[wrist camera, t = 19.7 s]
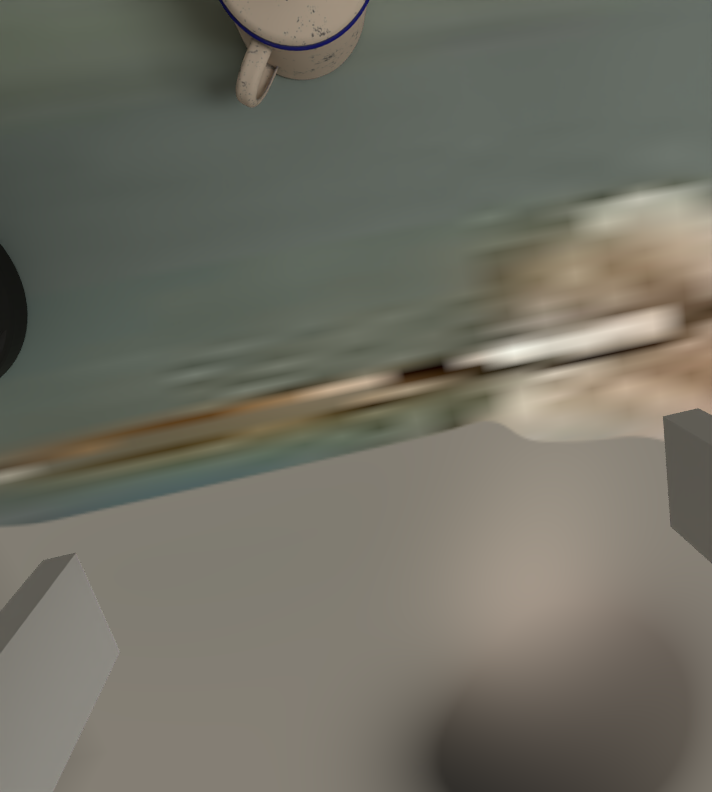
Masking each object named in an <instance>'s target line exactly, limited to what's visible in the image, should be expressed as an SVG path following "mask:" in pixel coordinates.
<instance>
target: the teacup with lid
mask: <svg viewBox="0 0 712 792" xmlns="http://www.w3.org/2000/svg"><path fill="white" fill-rule="evenodd" d="M219 1H220V3H221V4H222V6H223V8H224V9H225V11H226V12H227V13H228V15H229V16H230V17H231V18H232V19H233V21H234V22H235V25H236V27H237V29H238V31H239V33H240V35H241V37H242V39H243V41H244V43H245V45H246V46H247V48H248V49H247V51H246V54H245V56H244V59H243V62H242V64H241V67H240V71H239V74H238V78H237V83H236V97H237V99H238V100H239V101H240V102H241V103H242V104H244V105H246V106H248V107H255V106H257V105H258V104H259V103H260V102H261V101H262V100H263V98H264V97H265V95H266V94H267V92H268V90H269V88H270V86H271V84H272V82H273V79H274V77H275V75H276V74H278V75H280V76H283V77H286V78H290V79H296V80H308V79H314V78H318V77H321V76H324V75H326V74H328V73H330V72H332V71H333V70H335V69H336V68H338V67H339V66H340V65H341V64H342V63H343V62H344V61H345V60H346V59H347V58H348V57H349V55H350V54H351V53H352V51H353V50H354V48H355V46H356V44H357V42H358V40H359V38H360V35H361V32H362V29H363V24H364V19H365V14H366V8H367V4H368V2H369V0H219Z"/></svg>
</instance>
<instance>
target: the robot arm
mask: <svg viewBox="0 0 712 792" xmlns="http://www.w3.org/2000/svg"><path fill="white" fill-rule="evenodd" d="M26 328H27V304H26V298H25V293H24V289H23V286H22V282H21V280H20V277H19V275H18V272H17V270H16V268H15V266H14V264H13V262H12V261H11V259H10V257H9V256H8V254H7V253H6V251H5V250H4V248H3V247H2V246H1V244H0V377H1V376H2V375H3V374H4V373H5V372H6V371H7V370H8V369H9V368H10V367H11V365H12V364H13V363H14V361H15V359H16V358H17V356H18V354H19V352H20V350H21V347H22V345H23V342H24V338H25V334H26ZM663 423H664V438H665V452H666V466H667V480H668V496H669V509H670V524H671V527H672V528H673V529H674V530H675V531H676V532H677V533H679V534H680V535H681V536H682V537H683V538H684V539H685V540H686V541H688V542H689V543H690V544H691V545H692V546H693V547H694V548H695V549H696V550H698V551H699V552H700V553H701V554H702V555H703V556H704V557H705V558H707V560H709V561H710V562H711V563H712V415H710V414H708V413H706V412H704V411H702V410H700V409H693V410H689V411H685V412H680V413H676V414H672V415H667V416H663ZM119 653H120V650H119V648H118V646H117V644H116V641H115V639H114V637H113V635H112V633H111V630H110V628H109V626H108V623H107V621H106V619H105V617H104V614H103V612H102V610H101V608H100V606H99V603H98V601H97V599H96V596H95V594H94V592H93V589H92V588H91V585H90V583H89V580H88V578H87V576H86V574H85V571H84V569H83V567H82V565H81V562H80V560H79V558H78V556H77V554H76V553H73V554H69V555H64V556H60V557H55V558H51V559H47V560H43V561H42V562H41V563H40V564H39V566H38V567H37V568H36V569H35V571H34V572H33V573H32V574H31V576H30V577H29V578H28V579H27V580H26V581H25V582H24V584H23V585H22V586H21V587H20V589H19V590H18V591H17V592H16V593H15V594H14V596H13V597H12V598H11V599H10V600H9V602H8V603H7V604H6V605H5V607H4V608H3V609H2V610H1V612H0V792H53V791H54V788H55V787H56V784H57V782H58V780H59V778H60V776H61V774H62V772H63V770H64V768H65V766H66V763H67V761H68V759H69V757H70V755H71V753H72V751H73V749H74V747H75V745H76V742H77V741H78V738H79V736H80V734H81V732H82V730H83V728H84V726H85V724H86V722H87V720H88V718H89V715H90V713H91V711H92V709H93V707H94V705H95V703H96V701H97V699H98V697H99V695H100V692H101V690H102V688H103V686H104V684H105V682H106V680H107V678H108V676H109V674H110V672H111V669H112V667H113V665H114V663H115V661H116V659H117V657H118V655H119Z"/></svg>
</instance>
